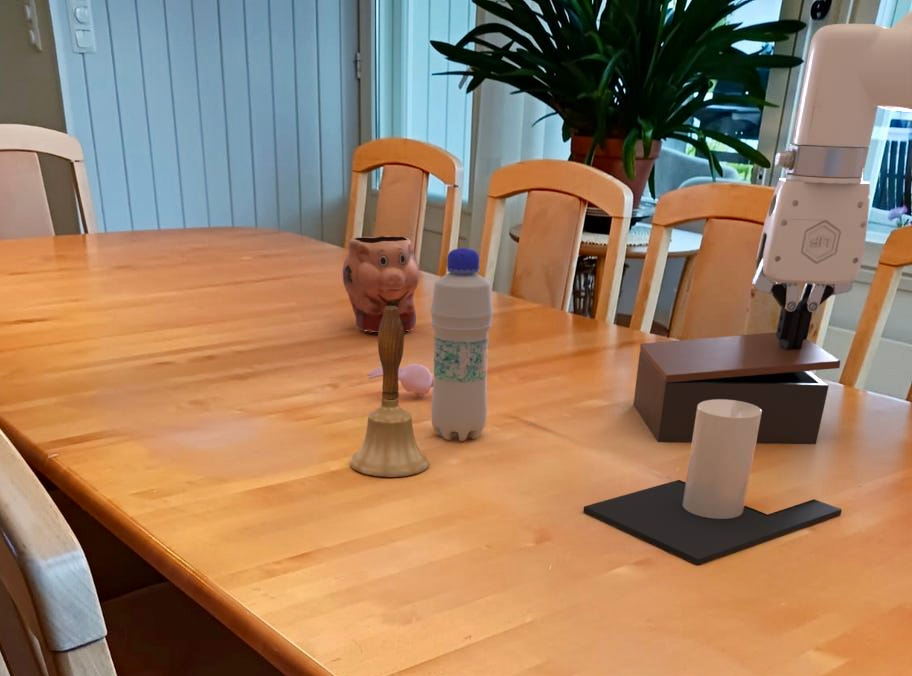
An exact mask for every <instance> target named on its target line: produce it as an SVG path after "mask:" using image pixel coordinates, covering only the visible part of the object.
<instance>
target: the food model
mask: <svg viewBox="0 0 912 676" xmlns="http://www.w3.org/2000/svg"><path fill="white" fill-rule="evenodd" d="M756 271H757V270H756V269H755V271H754V275H753V278H752V280H753V279H754V276H755V274H756ZM770 281H772V280H770ZM773 282H774V281H773ZM777 283H779V282H777ZM804 286H805V284H801V283H798V297H797V305H798V303H799V301H800V298H801V295H802V292H803V289H804ZM825 305H826V300H825V301H824V302H823V303H822V304H820V305H819V307H818V309H817V310H816V311H815V312H813V313H812V318H811V322H810V327H809V332H808V336H807V339H808V340H810V341H811V342H813V343H814V344H816V340H817V336H818V333H819V330H820V326H821V322H822V318H823V314H824V309H825ZM780 312H781V306H779V304H778V302H777V301H776V299H775V298H774V297H773V295H772V294H769V293H765V292H762V291H759V290H756V289H755V288H753V287H752V286H751V289H750V293H749V298H748V302H747V309H746V315H745V322H744V327H743V332H742V335H749V334H761V333H773V332H777V328H778V323H779V317H780Z"/></svg>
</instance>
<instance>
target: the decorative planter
mask: <svg viewBox="0 0 912 676" xmlns="http://www.w3.org/2000/svg"><path fill="white" fill-rule="evenodd" d="M419 265H420V264H419V263H418V260H417V257H416V254H415V251H414V248H413V243H412V241H411V240H410V239H409V238H408V237H404V236H400V235H399V236H398V235H380V236H360V237H352V238H350V240H349V243H348V253H347V255H346V257H345V259H344V263H343V266H342V281H343V286H344V289H345V291H346V293H347V296H348V299H349V302H350V305H351V309H352V311H353V314H354V316H355V317H354V318H355V323H356V326H358V327H359V328H361V329H362V330H361V329H360V330H361V331H363V330H367V331H374V332H379V327H380V323H381V321H382V317H383V314H384V310H385V307H386V306H396V307H398V312H399V317H400V320H401V323H402V327H403V331H407V330H411V329H413V328H414V329H415V327H416V322H417V314H416V305H415V293H416V291H417V289H418V288H419V285H420V280H421V274H420V273H421V272H420V266H419ZM358 327H357V328H358ZM359 328H358V329H359ZM414 329H413V330H414Z"/></svg>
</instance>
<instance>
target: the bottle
mask: <svg viewBox="0 0 912 676" xmlns="http://www.w3.org/2000/svg"><path fill="white" fill-rule="evenodd" d="M446 261H447V262H446V263H447V264H446V266H447V267H446V269H447V270H446V271H447V272H448V273H446V274H445V275H443V276H441V277H440V278H437V279H436V280H435V282H434V287H433V295H432V302H431V307H430V314H431V322H430V324H431V326H432V329H433V333H434V334H433V379H434V383H433V387H432V396H431V407H430V409H431V411H430V412H431V413H430V415H431V416H430V417H431V425H432V429H433V431H434V433H435V434H436V435H437V436H439V437H443V439H445V440H448V441H449V440H452V435H453V432H455V433H457V436H458V440H459V441H460V442H463V441H466V440H467V438H468V435H470V438H471V439H473V440H474V439H477V438H478V437H480V436H481V434H482V432H483V431H484V429H485V428H486V423H487V417H488V416H487V415H488V395H487V394H488V392H487V391H488V390H487V389H488V388H487V377H488V355H489V353H488V352H489V350H488V349H489V332H490V330H491V327H492V325H493V323H492V319H493V314H494V309H493V308H494V307H493V301H492V300H493V298H492V297H493V296H492V287H491V281H489V279H486V278H485V277H483V276H482V275H481V274H479V272H480V255H479V253H478V251H476V250H475V249H471V248H467V247H461V248H455V249H452V250H450V252H449V253H448V255H447V260H446Z"/></svg>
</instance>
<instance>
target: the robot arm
mask: <svg viewBox="0 0 912 676" xmlns="http://www.w3.org/2000/svg"><path fill="white" fill-rule="evenodd" d="M879 108H881V109H885V110H890V111H901V112H911V113H912V9H911V10H910V11H909V12H908V13H907V14H905V15H904V16H903V17H902V18H900V20H899V21H897V22H896V23H895V24H894V25H893V26H891V27H886V26H884V25H880V24H875V23H833V24H828V25H824V26H822V27H820V28H819V29H817V30H816V32H814V34H813V35H812V38H811V41H810V44H809V49H808V53H807V58H806V65H805V69H804V75H803V81H802V86H801V92H800V97H799V102H798V108H797V113H796V118H795V123H794V130H793V134H792V139H791V140H792V141H791V144H789V146H788V149H787V150H784V151H777V153H776V154H775V158H774V165H775V167H782V168H784V173H785V177H779V179H778V181H777V184H776V186H775V189H774V192H773V195H772V198H771V200H770V203H769V207H768V209H767V213H766V217H765V219H764V223H763V227H762V231H761V235H760V239H759V244H758V249H757V254H756V260H755V270H757V271H756V274H755V273H754V274H755V276H754V275H753V278H754V279H753V278H752V281H751V288H752V287H753V288H755V289H756V290H759V291H762V292H765V293H769V294H772V295H773V297H774V298H775V299H776V301H777V302H778V304H779V306H781V312H780V317H779V323H778V328H777V333H776V336H777V339H779V344H780V345H782V346H783V347H784V348H786V349H791V348H793V347H794V348H795V349H801V348H802V344H803V340H806V339H807V336H808V332H809V327H810V322H811V318H812V313H813V312H815V311H816V310H817V309H818V307H819V305H820V304H822V303H823V302H824V301H825V302H826V300H828V299H829V298H830V297H831V296H836V295H837V296H838V295H842V294H846V293H849V292H851V291H852V290H853V281H855V280H856V279H857V277H858V276H859V274H860V271H861V268H862V267H861V266H862V261H863V257H864V251H865V244H866V239H867V238H866V237H867V230H868V224H869V213H870V211H869V210H870V198H871V197H870V196H871V183H870V182H869V181H864V180H863V176H864V172H865V168H866V164H867V159H868V155H869V149H870V145H871V140H872V136H873V132H874V126H875V123H876V117H877V113H878V110H879ZM770 280H772V281H770ZM773 281H774V282H773ZM777 282H779V283H777ZM798 283H801V284H805V286H804V289H803V292H802V295H801V298H800V301H799V303H798V305H797V297H798Z"/></svg>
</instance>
